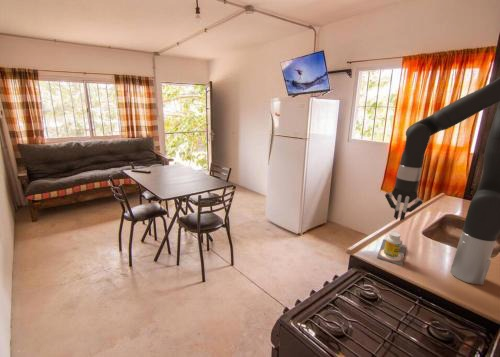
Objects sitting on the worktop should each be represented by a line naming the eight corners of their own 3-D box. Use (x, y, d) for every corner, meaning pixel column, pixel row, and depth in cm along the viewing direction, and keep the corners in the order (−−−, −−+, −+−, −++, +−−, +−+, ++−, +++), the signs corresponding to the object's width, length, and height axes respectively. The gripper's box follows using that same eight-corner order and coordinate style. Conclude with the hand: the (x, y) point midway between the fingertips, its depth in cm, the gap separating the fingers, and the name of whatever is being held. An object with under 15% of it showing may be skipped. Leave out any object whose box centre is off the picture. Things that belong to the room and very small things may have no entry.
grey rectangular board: (405, 246, 115) (406, 240, 115) (401, 265, 101) (403, 259, 100) (383, 240, 120) (384, 234, 119) (376, 257, 106) (378, 251, 105)
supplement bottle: (387, 249, 110) (392, 229, 108) (400, 256, 106) (405, 235, 103) (380, 253, 108) (385, 232, 105) (393, 259, 103) (398, 238, 101)
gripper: (386, 176, 98) (378, 218, 103) (429, 183, 91) (418, 227, 96) (389, 172, 104) (381, 212, 109) (429, 178, 97) (419, 220, 102)
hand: (398, 219), depth 102 cm, fingers closed
